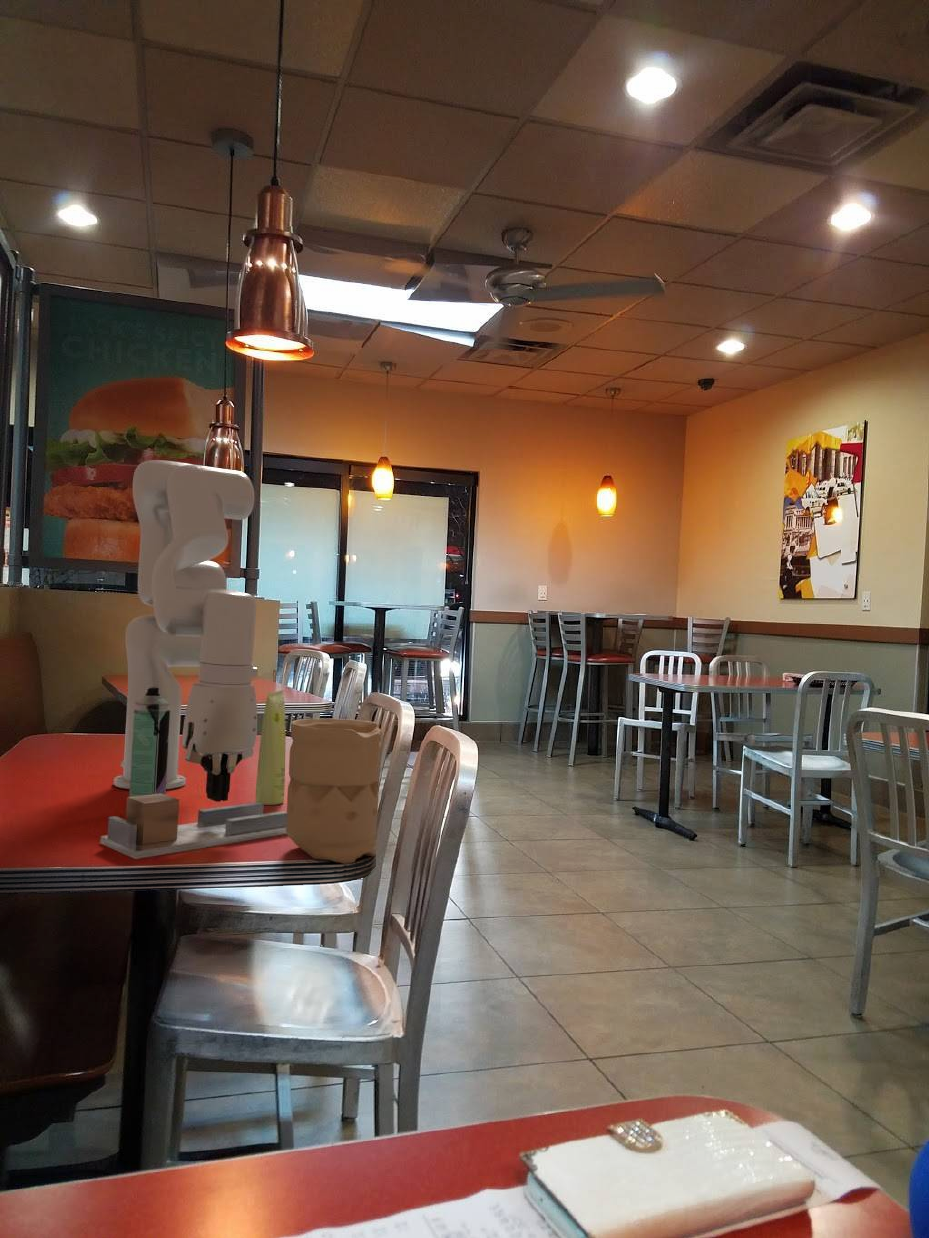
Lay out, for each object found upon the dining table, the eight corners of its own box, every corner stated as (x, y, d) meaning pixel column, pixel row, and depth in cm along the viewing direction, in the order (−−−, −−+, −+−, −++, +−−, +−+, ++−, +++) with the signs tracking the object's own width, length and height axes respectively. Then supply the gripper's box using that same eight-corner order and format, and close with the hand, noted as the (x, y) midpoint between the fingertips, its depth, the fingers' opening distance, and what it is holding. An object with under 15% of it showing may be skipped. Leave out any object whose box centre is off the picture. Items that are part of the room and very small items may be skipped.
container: (387, 846, 127) (393, 722, 127) (357, 869, 115) (364, 731, 115) (306, 837, 130) (312, 716, 130) (268, 858, 118) (275, 724, 118)
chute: (100, 843, 121) (102, 814, 121) (255, 820, 139) (256, 795, 139) (135, 859, 114) (137, 828, 114) (293, 832, 132) (294, 806, 132)
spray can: (170, 812, 142) (177, 688, 142) (138, 816, 138) (145, 689, 138) (154, 806, 145) (160, 685, 146) (122, 810, 141) (129, 686, 142)
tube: (289, 805, 152) (295, 692, 152) (261, 807, 149) (267, 692, 149) (277, 798, 157) (283, 689, 157) (250, 800, 154) (256, 689, 154)
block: (125, 837, 121) (127, 797, 121) (158, 832, 124) (161, 793, 124) (142, 844, 117) (144, 803, 117) (177, 839, 121) (179, 799, 121)
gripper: (254, 672, 137) (246, 788, 137) (165, 673, 126) (157, 800, 127) (282, 677, 132) (274, 798, 132) (192, 679, 121) (183, 811, 121)
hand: (217, 799), depth 129 cm, fingers closed
